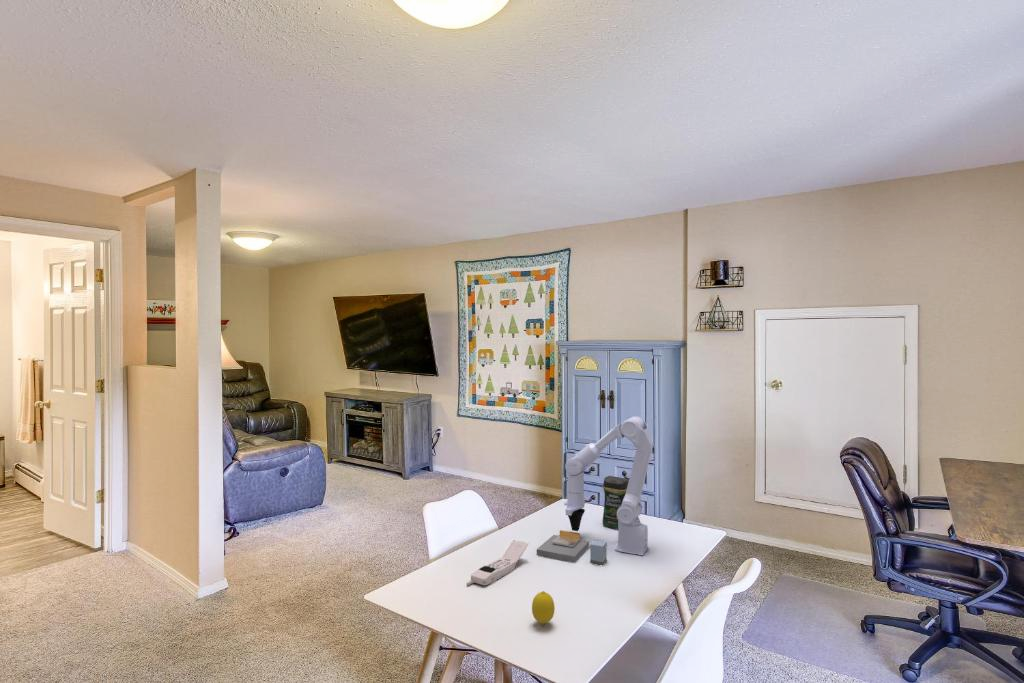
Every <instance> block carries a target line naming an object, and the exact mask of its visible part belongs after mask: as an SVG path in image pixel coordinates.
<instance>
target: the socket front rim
mask: <svg viewBox="0 0 1024 683" xmlns="http://www.w3.org/2000/svg"><path fill="white" fill-rule="evenodd" d="M552 536H553V537H558V536H559V535H555V534H553V535H552ZM580 541H581V542H586V543H588V547H589V548H590V541H589V540H583V539H581V540H580Z"/></svg>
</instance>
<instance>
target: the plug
mask: <svg viewBox="0 0 1024 683" xmlns="http://www.w3.org/2000/svg"><path fill="white" fill-rule="evenodd" d="M607 545H608V544H607V542H606V541H600V540H595V539H594V540H593V541H592V542H591V543H589V548H590V553H589V554H590V556H589V557H590V559H589V564H590V563H592V565H595V564H597V565H596V566H600V565H602V566H601V567H604V565H605V564H606V563H607V561H608V559H607V550H608V549H607ZM605 562H606V563H605ZM604 563H605V564H604Z"/></svg>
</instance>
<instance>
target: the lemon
mask: <svg viewBox="0 0 1024 683" xmlns="http://www.w3.org/2000/svg"><path fill="white" fill-rule="evenodd" d="M531 613H532V617H533V618H534V619H535V620H536V621H537V622H538V623H540V624H541V625H542V626H543V625H545V624H547V623H549V622H550V621H551V620H552V619H553V617H554V615H555V602H554V599H553V597H552V595H551V594H550V593H548V592H545V591H543V590H542V591H540V592H538V593H537V594H536V595H535V596H534V597H533V600H532V603H531Z"/></svg>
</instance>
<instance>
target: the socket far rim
mask: <svg viewBox="0 0 1024 683" xmlns="http://www.w3.org/2000/svg"><path fill="white" fill-rule="evenodd" d="M555 538H556V537H553V535H551V536H550V537H549V538H548V539H547V540H546V541H545V542H547V543H552V541H553V540H554V539H555Z"/></svg>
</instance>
